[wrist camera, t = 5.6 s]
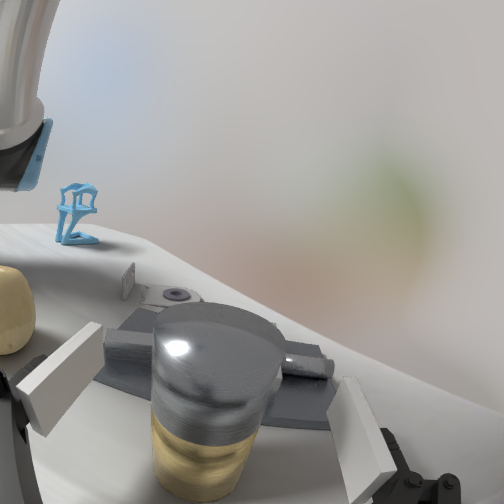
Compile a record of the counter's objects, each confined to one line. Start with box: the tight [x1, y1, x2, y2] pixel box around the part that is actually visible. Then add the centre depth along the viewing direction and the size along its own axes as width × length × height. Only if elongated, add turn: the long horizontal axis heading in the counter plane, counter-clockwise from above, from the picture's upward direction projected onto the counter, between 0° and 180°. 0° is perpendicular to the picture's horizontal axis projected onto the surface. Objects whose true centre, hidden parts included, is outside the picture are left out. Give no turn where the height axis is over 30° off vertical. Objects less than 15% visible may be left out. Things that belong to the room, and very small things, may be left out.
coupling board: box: [93, 308, 336, 430], centre depth 23 cm, size 20×12×4 cm, turn 88°
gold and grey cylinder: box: [151, 302, 286, 502], centre depth 11 cm, size 5×5×10 cm
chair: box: [55, 183, 99, 245], centre depth 48 cm, size 8×8×12 cm
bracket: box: [122, 263, 201, 308], centre depth 35 cm, size 7×10×4 cm, turn 101°
